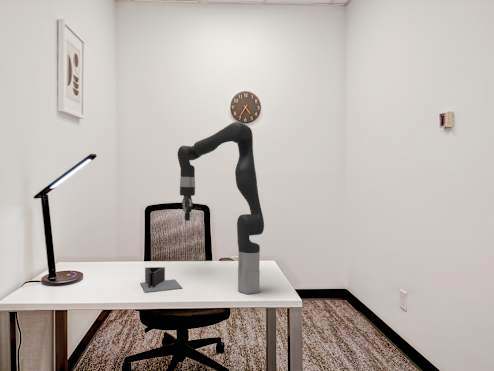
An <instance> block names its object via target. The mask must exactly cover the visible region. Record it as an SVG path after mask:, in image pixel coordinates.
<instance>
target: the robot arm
mask: <svg viewBox="0 0 494 371" xmlns="http://www.w3.org/2000/svg"><path fill="white" fill-rule="evenodd" d="M253 137H254V136H253V131H252V128H251V127H250V126H248V125H247V124H244V123H242V122H240V121H234V122H231V123H230V124H228V125H227V126H225V127H224V128H222V129H221V130H219V131H217V132H216V133H214V134H212V135H209V136H208V137H206V138H203V139H201V140H198V141H196V142H195V143H194V144H193V145H192V146H190V145H182V146H179V148H178V149H177V159H178V160H177V161H178V163H179V167H180V177H179V178H180V179H179V195H180V196H183V199H182V200H181V205H182V210H183V213H184V221H186V222H188V221H190V218H191V215H190V214H191V213H192V209H193V206H194V202H193V199H192V196H194V197H195V195H196V177H195V176H196V173H195V171H196V169H195V166H194V165H193V164H191V162H190V161H194V160H197V159H199V158H201V157H202V156H204V155H206V154H209V153H211V152H214V151H215V150H217V149H218V148H219V146H221V145H223V144H225V143H229V142H232V143H236V144H237V149H238V160H237V164H236V166H235V170H234V172H235V184H236V188H237V189H238V191H239V193H240V194H241V196H242V198H244V199H245V201H246V202H247V205H248V207H249V212H250V213H245V214H241V215H239V216H238V218H237V221H236V231H237V232H236V233H237V234H236V235H237V247H238V258H237V262H238V263H237V264H238V265H237V267H238V268H237V292H240V293H243V294H245V295H250V294H258V293H260V276H261V272H260V260H261V259H260V258H261V257H260V256H261V254H260V252H261V249H260V248H261V247H260V246H261V245H260V244H258V243H257V242H253V241H251V240H250V236H259V235H262V234H263V233H264V230H265V223H264V222H265V220H264V215H263V212H262V207H261V206H262V205H261V203H260V198H259V189H258V180H257V174H256V166H255V159H254V158H255V156H254V140H253V139H254V138H253Z"/></svg>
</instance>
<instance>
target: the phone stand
mask: <svg viewBox="0 0 494 371" xmlns="http://www.w3.org/2000/svg"><path fill="white" fill-rule="evenodd" d="M165 268H166V267H165V266H164V267H163V266H159V267H158V266H157V267H155V266H154V267H151V266H150V267H144V272H145V273H144V276H145V277H144V281H145V282H147V284H148V287H149V288H151V286H152V288H154V287H155V286H156V285H157V284H159V283H161V282H162V281H164V280H166V279H165V278H166V273H165V272H166V269H165Z"/></svg>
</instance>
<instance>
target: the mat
mask: <svg viewBox="0 0 494 371" xmlns="http://www.w3.org/2000/svg"><path fill="white" fill-rule="evenodd" d="M140 286H141V288H142V290H143V292H144V293H145V294H146V293H156V292H166V291H172V290H173V291H174V290H180V289H181V290H183V286H182V285H180V284H179V282H178V281H177V279H165V280H164V281H162V282H161V283H159V284H157V285H156V286H155V287H154V288H152V286H151V288H149V287H148V284H147V282H146V281H145V282H144V281H143V282H140Z"/></svg>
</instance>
